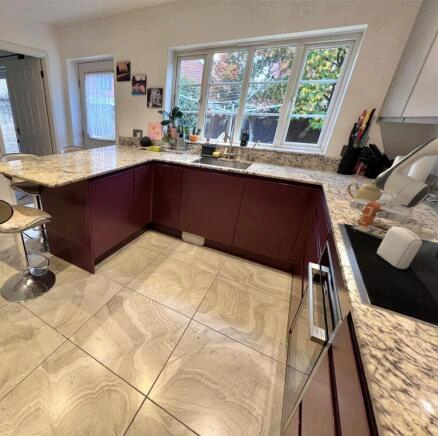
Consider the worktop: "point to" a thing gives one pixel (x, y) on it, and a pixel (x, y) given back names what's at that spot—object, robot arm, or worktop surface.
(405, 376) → the worktop surface
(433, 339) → the worktop surface
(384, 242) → the photo printer
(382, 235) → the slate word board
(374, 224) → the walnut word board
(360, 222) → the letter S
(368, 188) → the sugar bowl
